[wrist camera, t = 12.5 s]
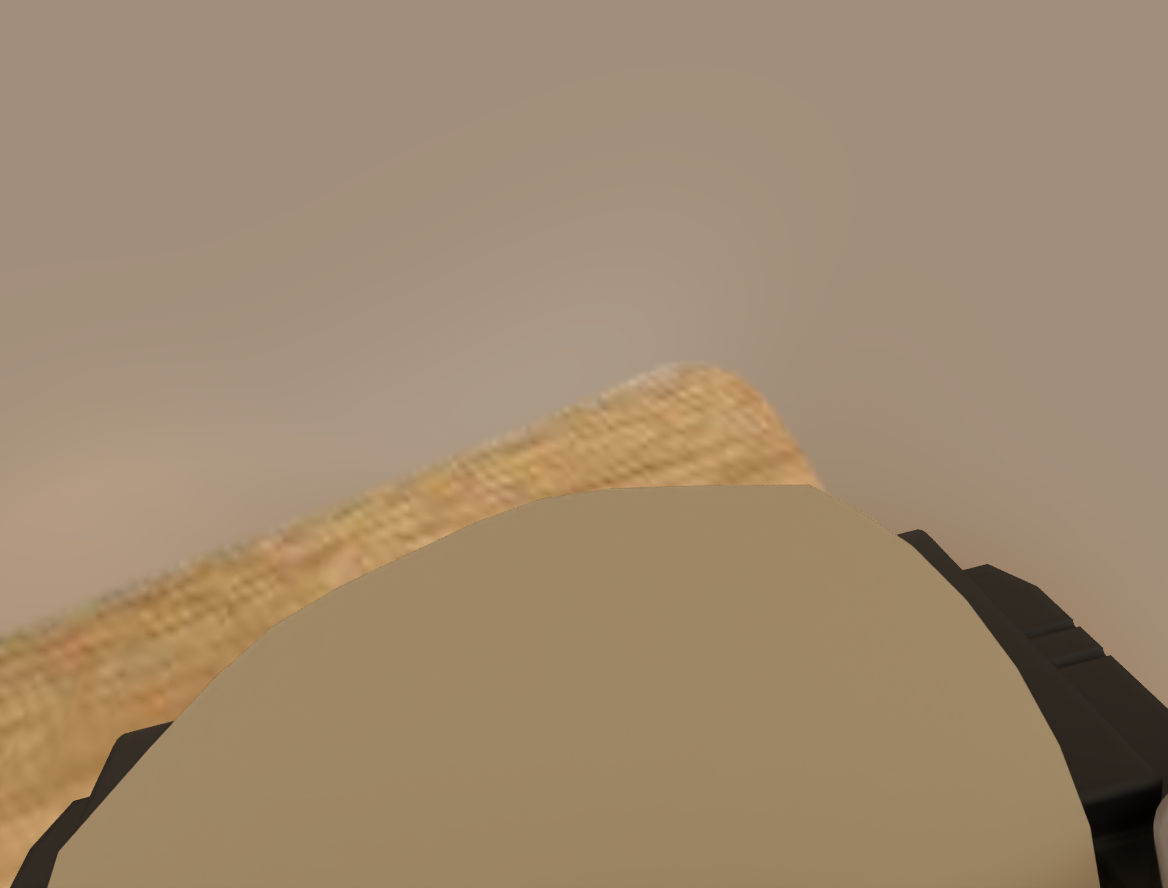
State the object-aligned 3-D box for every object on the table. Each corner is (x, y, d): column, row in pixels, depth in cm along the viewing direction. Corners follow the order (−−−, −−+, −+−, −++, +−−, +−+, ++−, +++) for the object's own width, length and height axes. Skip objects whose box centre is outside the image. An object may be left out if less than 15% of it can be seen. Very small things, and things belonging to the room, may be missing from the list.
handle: (431, 794, 20) (-51, 770, 6) (700, 659, 21) (818, 360, 7) (524, 1034, 18) (158, 1745, 4) (814, 878, 19) (1278, 1073, 5)
